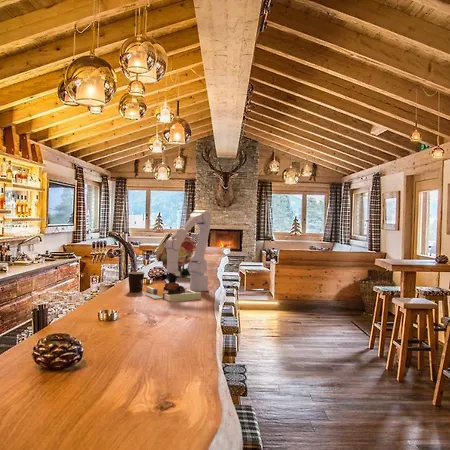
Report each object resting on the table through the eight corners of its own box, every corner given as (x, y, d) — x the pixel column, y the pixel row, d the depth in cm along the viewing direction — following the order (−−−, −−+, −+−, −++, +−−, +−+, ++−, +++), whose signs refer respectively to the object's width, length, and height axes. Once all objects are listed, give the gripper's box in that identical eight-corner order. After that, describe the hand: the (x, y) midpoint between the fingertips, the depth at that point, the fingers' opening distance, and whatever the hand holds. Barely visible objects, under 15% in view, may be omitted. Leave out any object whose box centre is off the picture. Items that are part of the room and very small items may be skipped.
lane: (178, 288, 248) (178, 282, 248) (205, 298, 222) (205, 292, 221) (137, 291, 236) (137, 285, 236) (161, 302, 209) (161, 295, 209)
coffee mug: (135, 293, 230) (135, 274, 229) (124, 291, 235) (124, 272, 234) (151, 290, 239) (152, 272, 238) (140, 288, 244) (141, 270, 244)
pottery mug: (158, 298, 220) (159, 283, 224) (168, 304, 228) (169, 289, 232) (180, 294, 216) (180, 279, 220) (189, 300, 224) (189, 285, 228)
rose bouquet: (152, 273, 305) (153, 230, 304) (193, 272, 314) (194, 230, 313) (158, 279, 281) (159, 231, 280) (203, 278, 290) (204, 232, 289)
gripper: (159, 260, 234) (159, 286, 234) (171, 263, 221) (170, 290, 222) (172, 260, 237) (171, 285, 238) (184, 263, 225) (183, 289, 226)
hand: (171, 288), depth 230 cm, fingers closed, pressing on pottery mug
